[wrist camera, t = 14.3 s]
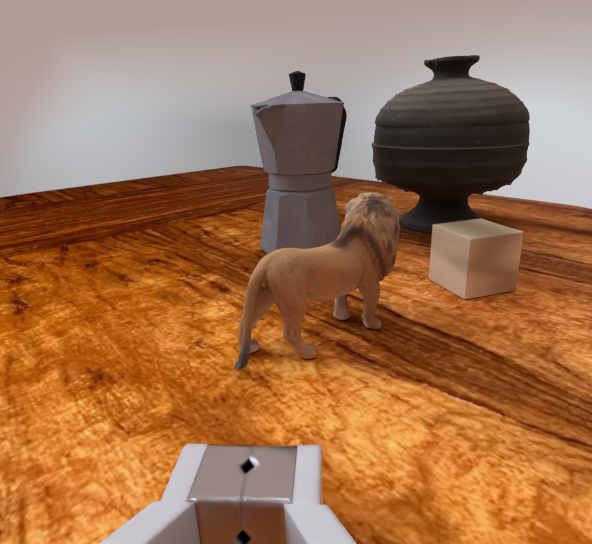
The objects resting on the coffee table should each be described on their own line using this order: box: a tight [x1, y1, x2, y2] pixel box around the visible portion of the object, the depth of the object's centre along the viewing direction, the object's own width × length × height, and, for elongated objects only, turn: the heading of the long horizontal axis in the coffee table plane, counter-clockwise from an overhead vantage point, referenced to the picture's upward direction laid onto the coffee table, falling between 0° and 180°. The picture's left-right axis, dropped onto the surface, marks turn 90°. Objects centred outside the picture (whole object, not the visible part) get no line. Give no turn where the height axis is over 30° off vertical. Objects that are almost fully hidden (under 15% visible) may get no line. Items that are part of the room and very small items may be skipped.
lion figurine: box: [234, 193, 400, 370], centre depth 30 cm, size 15×5×9 cm, turn 135°
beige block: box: [429, 219, 524, 300], centre depth 38 cm, size 5×5×5 cm
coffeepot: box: [251, 71, 346, 254], centre depth 49 cm, size 15×9×18 cm, turn 144°
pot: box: [372, 55, 530, 233], centre depth 56 cm, size 18×18×20 cm
